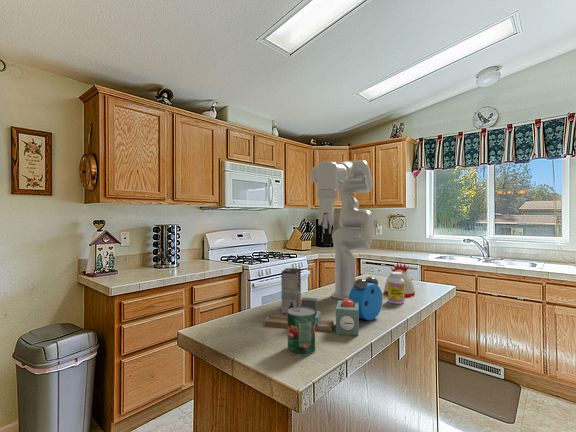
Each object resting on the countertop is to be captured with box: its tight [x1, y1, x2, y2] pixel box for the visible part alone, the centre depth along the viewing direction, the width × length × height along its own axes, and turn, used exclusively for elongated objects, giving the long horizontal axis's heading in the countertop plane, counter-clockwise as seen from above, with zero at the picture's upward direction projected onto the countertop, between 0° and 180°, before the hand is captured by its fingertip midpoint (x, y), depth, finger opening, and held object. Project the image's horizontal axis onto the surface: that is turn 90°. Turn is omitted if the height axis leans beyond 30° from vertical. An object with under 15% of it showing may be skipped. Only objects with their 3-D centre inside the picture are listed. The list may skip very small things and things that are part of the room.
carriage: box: [301, 297, 322, 325], centre depth 106 cm, size 8×7×7 cm
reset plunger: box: [341, 299, 353, 307], centre depth 103 cm, size 4×4×5 cm
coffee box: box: [280, 267, 302, 314], centre depth 124 cm, size 9×6×16 cm
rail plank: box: [264, 314, 335, 333], centre depth 107 cm, size 7×23×2 cm, turn 76°
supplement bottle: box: [387, 271, 405, 305], centre depth 134 cm, size 7×7×13 cm
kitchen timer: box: [383, 262, 416, 298], centre depth 149 cm, size 14×14×15 cm
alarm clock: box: [349, 276, 384, 321], centre depth 113 cm, size 13×6×15 cm, turn 130°
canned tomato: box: [287, 307, 316, 357], centre depth 87 cm, size 8×8×11 cm
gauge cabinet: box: [335, 299, 360, 336], centre depth 102 cm, size 10×7×8 cm, turn 166°
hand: (327, 244), depth 115 cm, fingers closed
